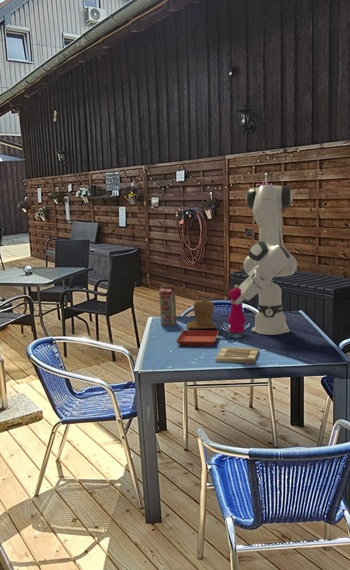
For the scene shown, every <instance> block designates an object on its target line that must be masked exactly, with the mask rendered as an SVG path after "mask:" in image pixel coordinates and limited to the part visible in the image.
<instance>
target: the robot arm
mask: <svg viewBox="0 0 350 570" xmlns="http://www.w3.org/2000/svg"><path fill="white" fill-rule="evenodd" d="M293 199H294V193H293V191H292V188H291V187H290V186H288V185H270V184H263V185H261V186H258V187H250V188H249V189H248V190H247V192H246V194H245V202H246V204H247V207H248V208H249V209H250V210H252V215H253V220H254V222H255V223H256V225H257V226H258V228H259V229H258V240H259V241H258V240H257V241H256V242H254V243H253V244H252V245H251V246H250V247H249V248H248V252H247V256H246V258H244V261H243V270H244V272H245V274H247V276H248V277H247V278H246V279H245V280H244V281H242V282H241V283H240V285H238V288H239V289H241V295H240V297H239V298H238V299H236V300H235V301H234V302H235V304H236V305H238V304H239V303H240V302H242V303H243V302H244V300H245V301H247V302H249V301H251V300H252V299H253V298H254V297H255V296H256V295H257V294H258V303H257V305H258V306H257V313H256V314H255V315H254V317H255V319H254V320H255V321H254V327H252V328H251V331H252V332H256V334H257V333H258V334H260V335H267V336H268V335H270V336H273V335H274V336H275V335H281V334H287V333H290V332H291V331H290V330H291V329H290V328H289V327H288V325H287V321H286V315H285V314H284V312H283V307H284V306H283V302H282V288H281V287H280V286H279V285H278V284H277V283H274V282H273V281H272V280H273V278H274V277H289V276H292V275H293V274H295V273H296V271H297V268H298V262H297V259H296V258H295V257H294V256H293V254H291V253H290V252H289V251H288V250H287V248H286V247H285V245H284V241H283V220H282V219H283V218H282V211H283V212H285V211H286V209H288V208H289V207H290V206H291V204H292V203H293ZM281 210H282V211H281Z"/></svg>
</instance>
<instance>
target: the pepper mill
mask: <svg viewBox="0 0 350 570" xmlns="http://www.w3.org/2000/svg"><path fill="white" fill-rule="evenodd" d="M240 295H241V289H239V285H238V284H234V286H233V288H232V289H230V290H229V294H228V296H229V298H230V304H231V311H230V314H229V315H228V318H227V323H228V324H229V328H228V329H229V332H230V333H233V334H236V333H238V334H239V333H244V332H245V326H244V325H245V324H246V317H245V314H244V313H243V312H244V311H243V308H242V304H243V301H242V302H240V303H239V304H238V305H236V304H235V302H234V301H235V300H236V299H238V298H239V297H240Z"/></svg>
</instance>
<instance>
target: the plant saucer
mask: <svg viewBox="0 0 350 570" xmlns="http://www.w3.org/2000/svg"><path fill="white" fill-rule="evenodd" d="M219 332H220V331H219V330H195V329H187V330H185V329H184V330H182V331H181V332H180V334H179V336H178V337H177V339H176V342H177V344H178V345H179V346H188V347H189V346H190V347H212V346H213V345H214V344H215V342H216V339H217V338H218V337H217V336H218V334H219Z"/></svg>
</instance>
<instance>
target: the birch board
mask: <svg viewBox="0 0 350 570" xmlns="http://www.w3.org/2000/svg"><path fill="white" fill-rule="evenodd" d="M258 354H259V348H256V347H255V348H254V347H232V346H229V347H228V346H222V347H221V349H220V350H219V352H218V353H217V355H216V356H215V363H216V362H217V363H218V362H219V363H234V364H236V363H237V364H240V363H241V364H253V363H254V364H255V362H256V359H257V357H258Z"/></svg>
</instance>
